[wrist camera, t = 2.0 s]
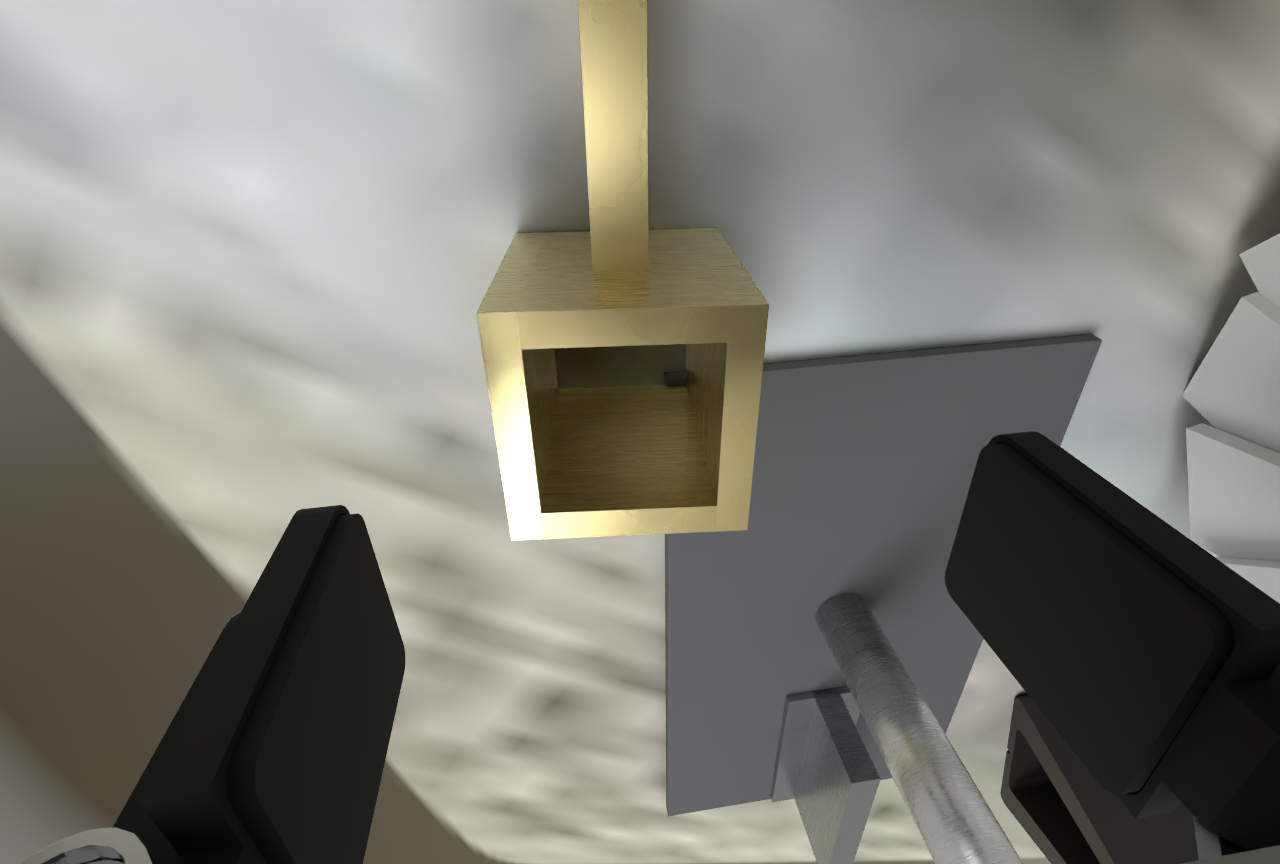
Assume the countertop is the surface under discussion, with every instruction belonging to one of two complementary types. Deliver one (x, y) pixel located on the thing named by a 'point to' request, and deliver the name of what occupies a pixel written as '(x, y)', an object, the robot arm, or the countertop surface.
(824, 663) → the mat
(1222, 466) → the spiral staircase
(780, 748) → the fixed leaf
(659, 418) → the loose leaf
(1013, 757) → the phone stand
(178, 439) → the countertop surface
